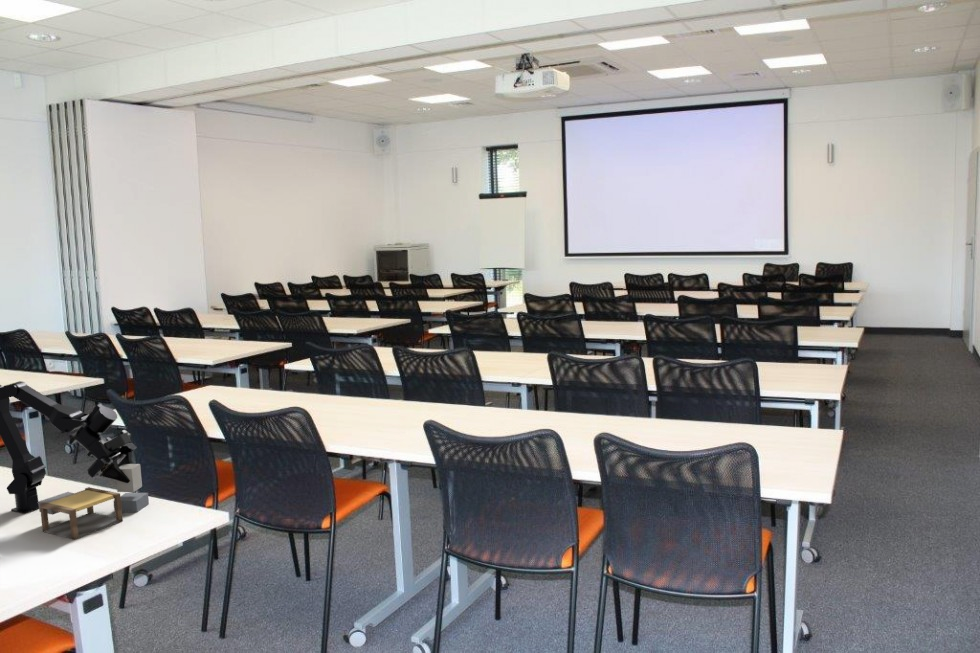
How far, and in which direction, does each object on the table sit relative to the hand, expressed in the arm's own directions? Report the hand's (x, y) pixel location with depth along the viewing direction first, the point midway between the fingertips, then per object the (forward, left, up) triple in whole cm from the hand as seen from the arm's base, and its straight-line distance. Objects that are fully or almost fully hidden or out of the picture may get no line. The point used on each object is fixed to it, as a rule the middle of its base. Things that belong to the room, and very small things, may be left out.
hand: (133, 479), depth 245 cm
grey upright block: (-1, -1, -3) cm, 3 cm away
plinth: (-1, -1, -9) cm, 9 cm away
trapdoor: (-4, -17, -5) cm, 18 cm away
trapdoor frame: (-1, -17, -9) cm, 19 cm away
